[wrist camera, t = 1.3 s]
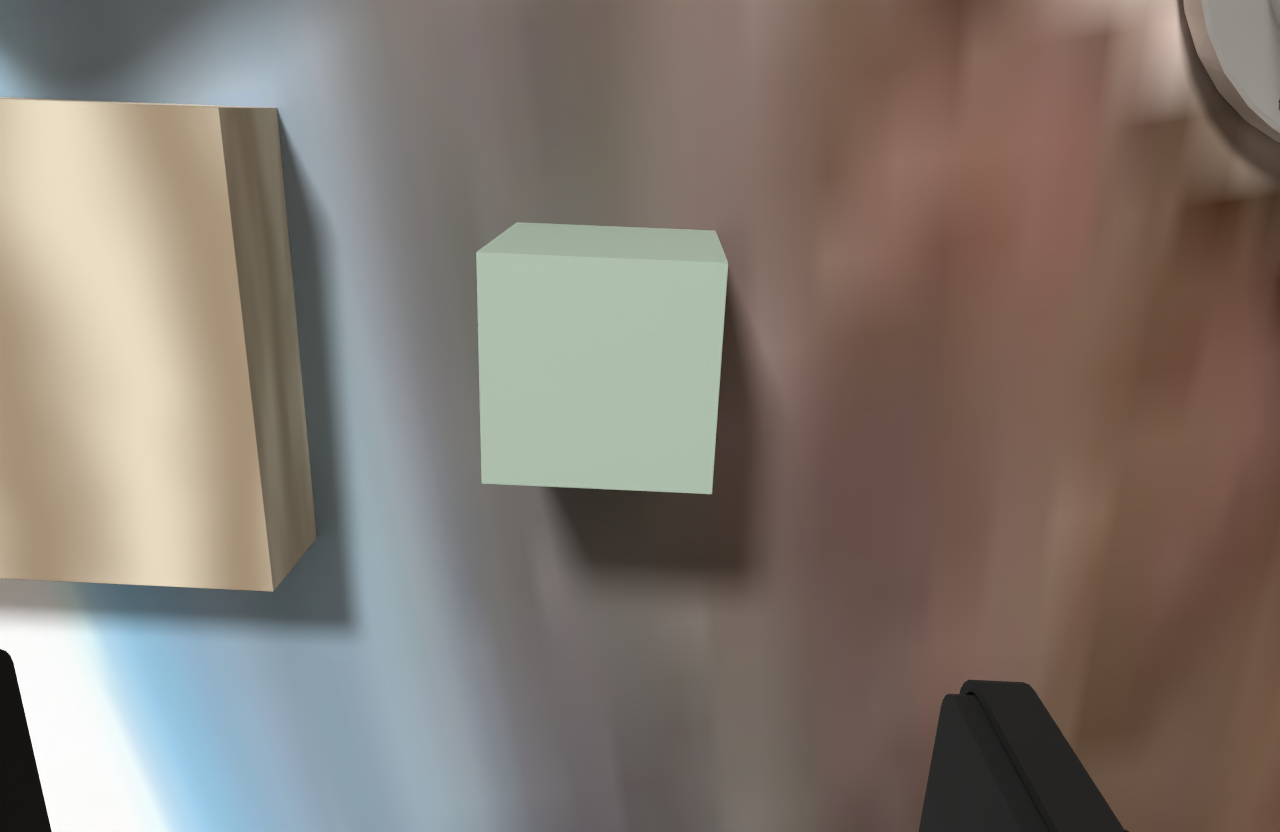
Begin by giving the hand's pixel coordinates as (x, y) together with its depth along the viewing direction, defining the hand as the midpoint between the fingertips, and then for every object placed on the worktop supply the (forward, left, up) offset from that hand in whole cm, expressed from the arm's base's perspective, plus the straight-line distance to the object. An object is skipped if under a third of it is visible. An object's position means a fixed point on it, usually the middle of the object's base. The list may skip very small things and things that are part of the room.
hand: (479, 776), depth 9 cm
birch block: (+17, +1, -20) cm, 26 cm away
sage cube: (0, 0, -20) cm, 20 cm away
